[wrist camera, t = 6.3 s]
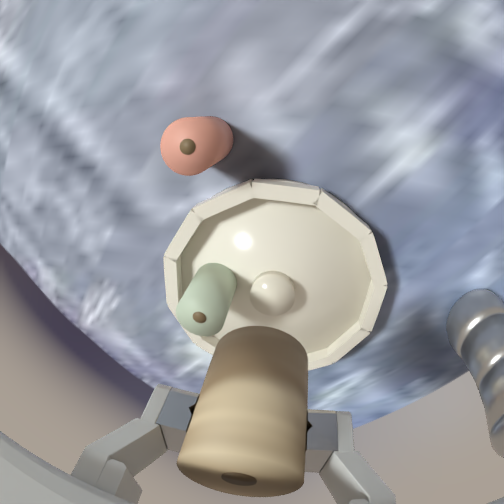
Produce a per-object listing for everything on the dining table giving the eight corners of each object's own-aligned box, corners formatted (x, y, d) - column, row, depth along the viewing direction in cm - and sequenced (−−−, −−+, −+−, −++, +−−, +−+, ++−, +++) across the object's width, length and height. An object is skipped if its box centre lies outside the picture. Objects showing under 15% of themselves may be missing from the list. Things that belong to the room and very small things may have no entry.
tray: (172, 169, 23) (160, 174, 21) (400, 197, 21) (409, 205, 19) (179, 342, 31) (172, 356, 29) (348, 366, 29) (350, 381, 27)
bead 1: (188, 115, 21) (161, 117, 17) (235, 117, 21) (218, 118, 16) (186, 161, 23) (159, 174, 18) (231, 164, 22) (215, 177, 18)
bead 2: (195, 259, 25) (174, 292, 21) (238, 265, 25) (224, 301, 20) (195, 295, 27) (177, 331, 22) (236, 302, 26) (223, 340, 22)
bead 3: (213, 319, 11) (167, 440, 6) (316, 331, 10) (317, 463, 6) (215, 383, 12) (184, 485, 8) (299, 394, 12) (292, 502, 7)
